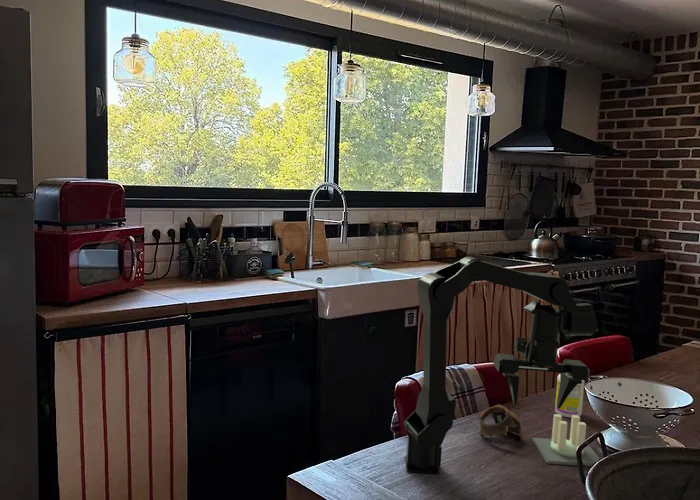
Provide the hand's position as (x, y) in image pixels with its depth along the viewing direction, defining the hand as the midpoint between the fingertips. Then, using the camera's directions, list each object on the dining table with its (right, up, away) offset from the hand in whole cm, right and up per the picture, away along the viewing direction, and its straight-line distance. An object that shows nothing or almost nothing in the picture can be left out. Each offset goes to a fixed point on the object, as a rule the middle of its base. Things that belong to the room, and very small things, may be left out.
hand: (536, 406), depth 135 cm
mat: (+8, -12, +6) cm, 16 cm away
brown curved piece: (-5, -11, +14) cm, 18 cm away
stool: (+8, -11, +5) cm, 15 cm away
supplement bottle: (+17, -10, +30) cm, 36 cm away
